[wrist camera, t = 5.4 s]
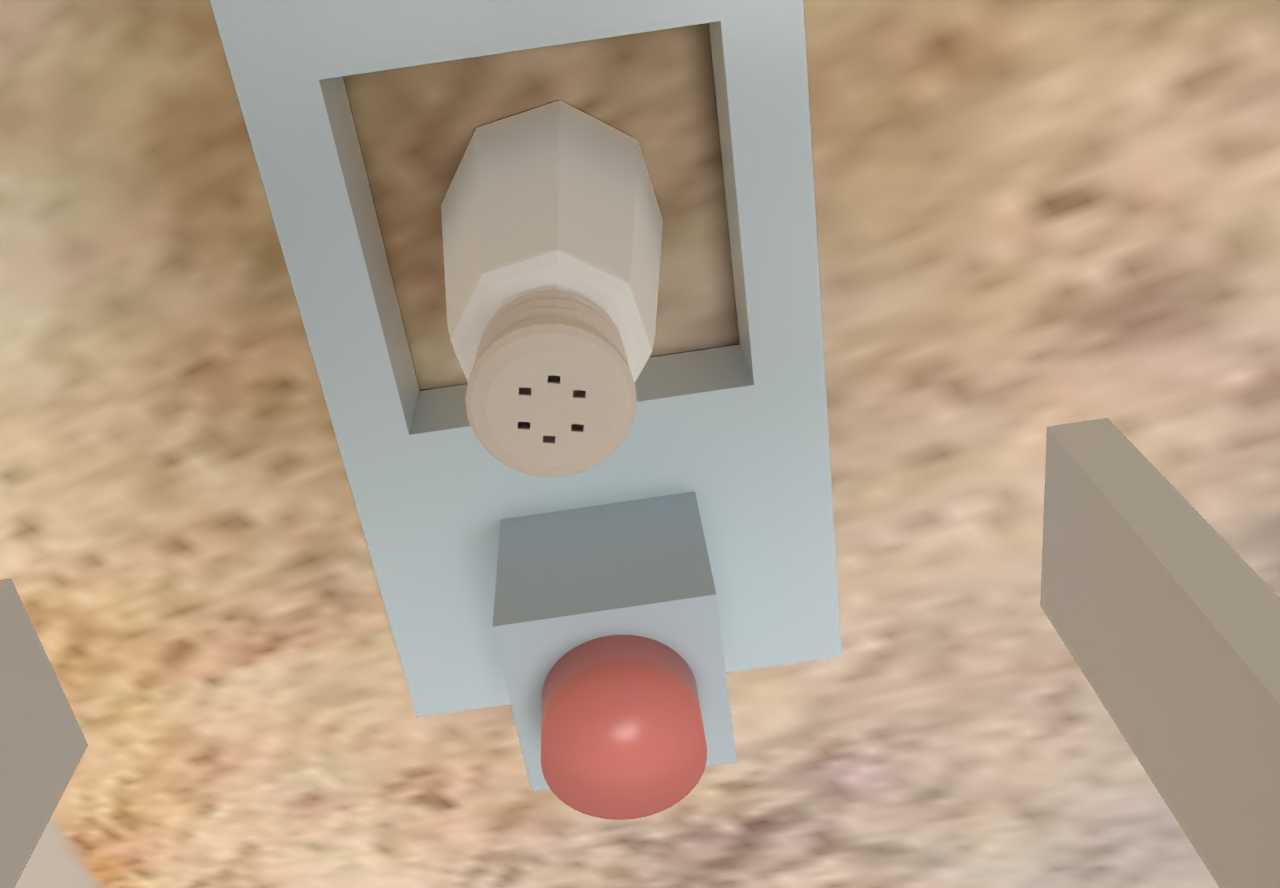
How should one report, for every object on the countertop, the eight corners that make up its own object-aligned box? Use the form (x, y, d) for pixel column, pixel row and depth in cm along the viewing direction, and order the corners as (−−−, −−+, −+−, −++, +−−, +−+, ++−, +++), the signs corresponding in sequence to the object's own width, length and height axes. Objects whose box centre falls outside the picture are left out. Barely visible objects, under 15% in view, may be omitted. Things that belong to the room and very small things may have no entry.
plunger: (529, 647, 26) (527, 706, 24) (688, 624, 26) (697, 682, 24) (555, 765, 28) (555, 830, 26) (705, 744, 28) (714, 807, 26)
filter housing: (226, -60, 25) (121, -22, 19) (774, -141, 25) (844, -129, 19) (425, 660, 35) (397, 841, 29) (823, 603, 35) (881, 772, 29)
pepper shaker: (652, 320, 30) (697, 556, 20) (440, 307, 30) (383, 543, 20) (674, 107, 28) (738, 262, 18) (443, 89, 27) (380, 237, 17)
